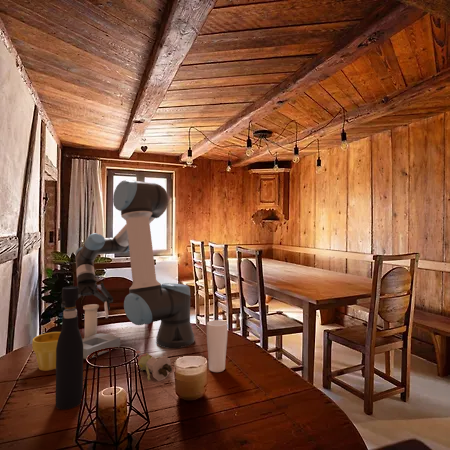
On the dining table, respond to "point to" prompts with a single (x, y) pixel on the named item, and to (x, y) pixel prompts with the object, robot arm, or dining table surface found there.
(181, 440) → the dining table surface
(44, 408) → the dining table surface
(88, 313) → the cylinder
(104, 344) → the jig
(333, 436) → the dining table surface
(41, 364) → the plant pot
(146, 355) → the figurine
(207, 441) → the dining table surface
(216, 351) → the drinking glass
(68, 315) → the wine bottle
